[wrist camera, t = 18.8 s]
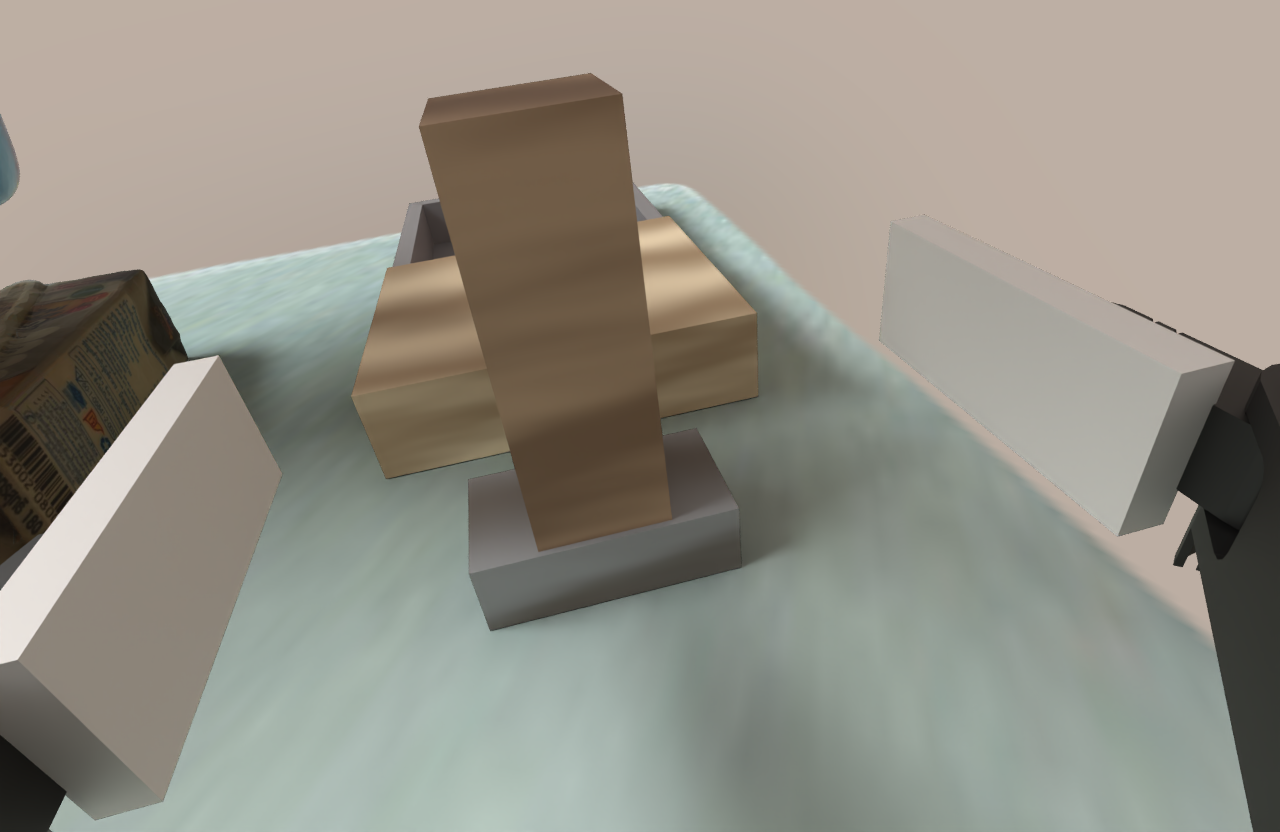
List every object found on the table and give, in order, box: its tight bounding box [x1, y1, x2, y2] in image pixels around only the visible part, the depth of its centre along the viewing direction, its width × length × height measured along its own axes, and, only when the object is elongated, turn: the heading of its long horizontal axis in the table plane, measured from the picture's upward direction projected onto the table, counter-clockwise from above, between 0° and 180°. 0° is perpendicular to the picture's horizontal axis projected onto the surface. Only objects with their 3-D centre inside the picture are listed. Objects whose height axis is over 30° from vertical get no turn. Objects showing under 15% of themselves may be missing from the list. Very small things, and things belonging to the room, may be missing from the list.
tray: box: [393, 183, 663, 267], centre depth 45 cm, size 15×16×4 cm
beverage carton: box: [0, 270, 188, 565], centre depth 30 cm, size 8×19×7 cm, turn 16°
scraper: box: [419, 73, 741, 631], centre depth 18 cm, size 4×8×14 cm, turn 103°
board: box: [351, 216, 758, 479], centre depth 33 cm, size 14×16×4 cm
